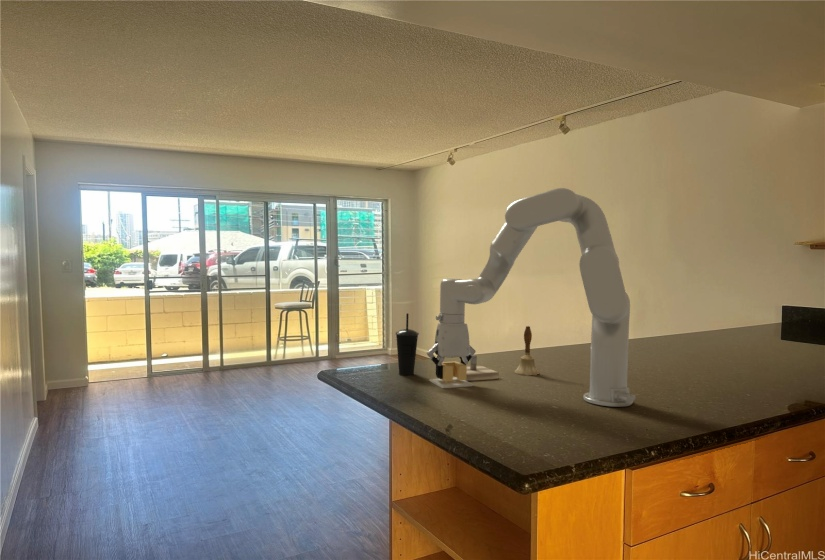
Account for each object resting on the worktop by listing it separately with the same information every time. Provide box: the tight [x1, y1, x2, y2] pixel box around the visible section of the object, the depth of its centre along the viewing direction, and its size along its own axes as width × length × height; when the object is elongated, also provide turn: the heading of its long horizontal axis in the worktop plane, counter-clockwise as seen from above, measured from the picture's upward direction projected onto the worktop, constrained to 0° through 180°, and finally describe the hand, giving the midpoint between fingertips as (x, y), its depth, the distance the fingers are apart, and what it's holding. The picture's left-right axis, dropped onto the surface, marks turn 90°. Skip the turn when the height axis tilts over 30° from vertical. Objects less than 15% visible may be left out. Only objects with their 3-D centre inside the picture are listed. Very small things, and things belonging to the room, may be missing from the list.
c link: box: [435, 360, 468, 381], centre depth 165 cm, size 7×7×4 cm
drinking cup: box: [395, 313, 420, 376], centre depth 178 cm, size 8×8×20 cm
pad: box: [428, 377, 474, 389], centre depth 165 cm, size 10×10×1 cm
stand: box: [465, 354, 499, 382], centre depth 177 cm, size 12×12×7 cm
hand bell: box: [514, 325, 540, 376], centre depth 183 cm, size 8×8×16 cm
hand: (451, 376), depth 165 cm, fingers closed on c link, 6 cm apart
